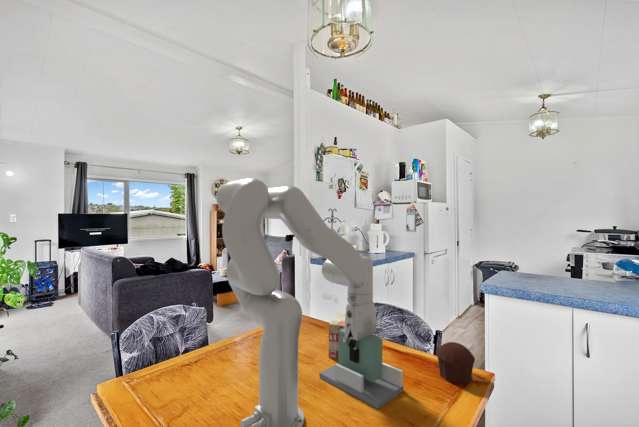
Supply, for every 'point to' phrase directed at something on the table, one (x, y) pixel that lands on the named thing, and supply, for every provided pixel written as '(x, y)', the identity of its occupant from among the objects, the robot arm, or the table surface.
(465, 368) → the muffin
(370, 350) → the book
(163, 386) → the table surface
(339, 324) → the printed carton
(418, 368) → the table surface
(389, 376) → the grey slotted holder
